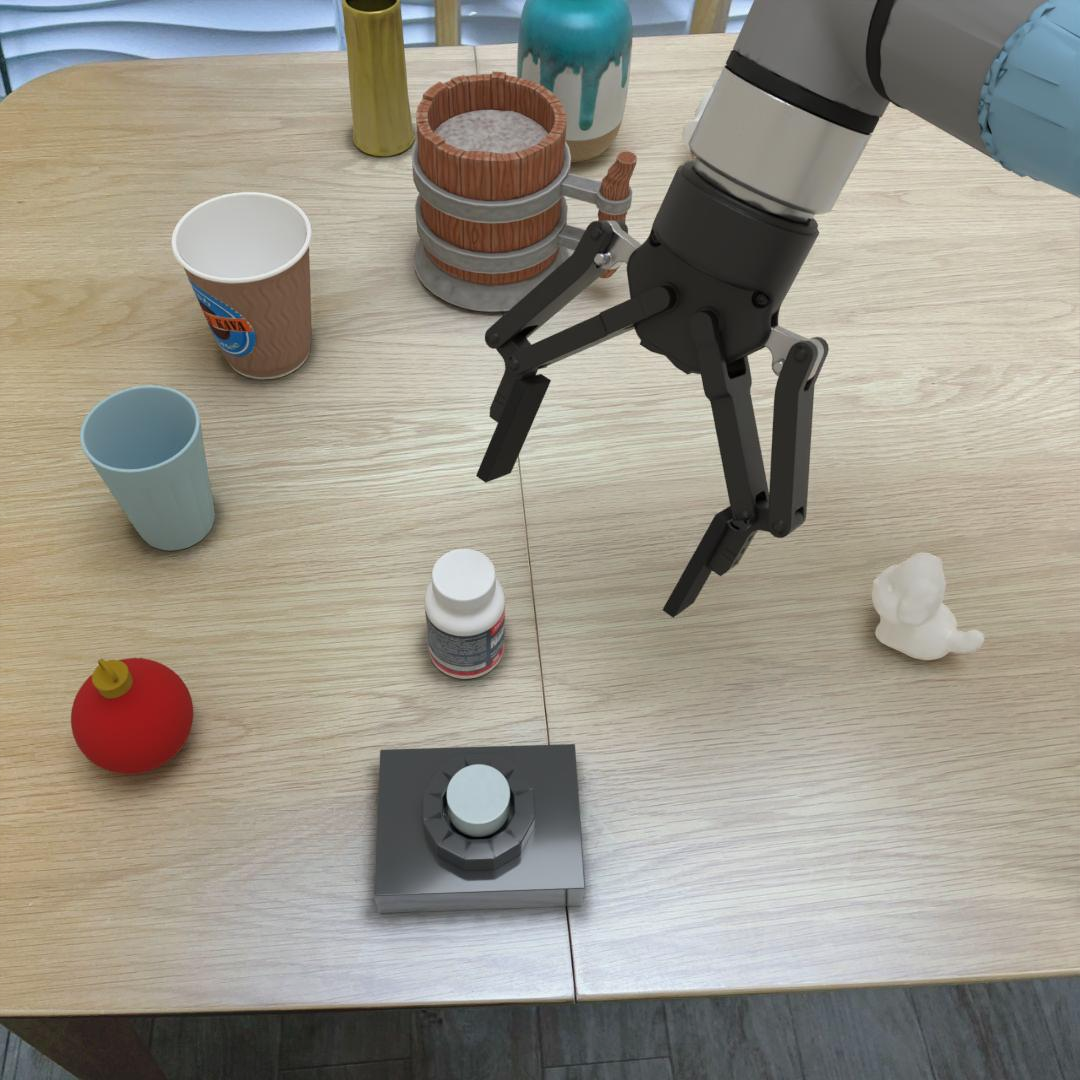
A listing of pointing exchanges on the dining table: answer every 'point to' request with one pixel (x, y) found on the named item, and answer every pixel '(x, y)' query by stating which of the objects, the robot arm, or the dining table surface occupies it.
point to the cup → (153, 463)
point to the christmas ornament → (131, 715)
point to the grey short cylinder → (478, 800)
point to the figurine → (919, 611)
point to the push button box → (478, 862)
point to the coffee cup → (251, 278)
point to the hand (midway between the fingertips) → (582, 538)
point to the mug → (499, 190)
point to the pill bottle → (465, 614)
